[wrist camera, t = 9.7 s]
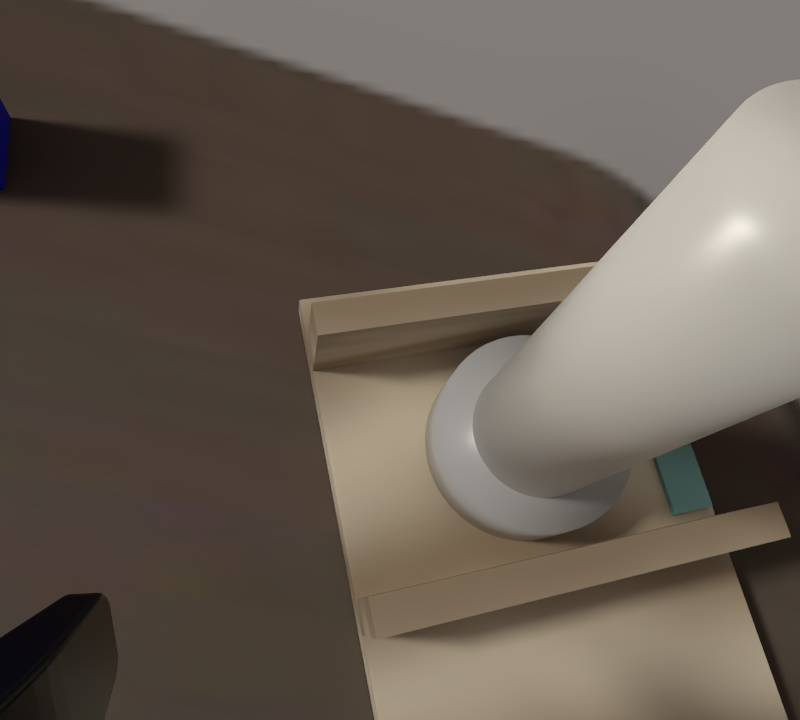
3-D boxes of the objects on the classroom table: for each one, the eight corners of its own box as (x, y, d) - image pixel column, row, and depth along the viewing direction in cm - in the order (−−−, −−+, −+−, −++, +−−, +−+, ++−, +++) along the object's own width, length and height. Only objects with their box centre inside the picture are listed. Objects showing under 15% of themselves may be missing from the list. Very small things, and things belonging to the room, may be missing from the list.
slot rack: (822, 877, 20) (946, 938, 16) (432, 1028, 17) (474, 1144, 13) (611, 270, 26) (666, 214, 22) (298, 312, 23) (302, 255, 20)
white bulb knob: (587, 566, 21) (1088, 491, 8) (402, 505, 21) (609, 325, 8) (618, 390, 23) (1047, 108, 10) (452, 333, 23) (676, -30, 10)
